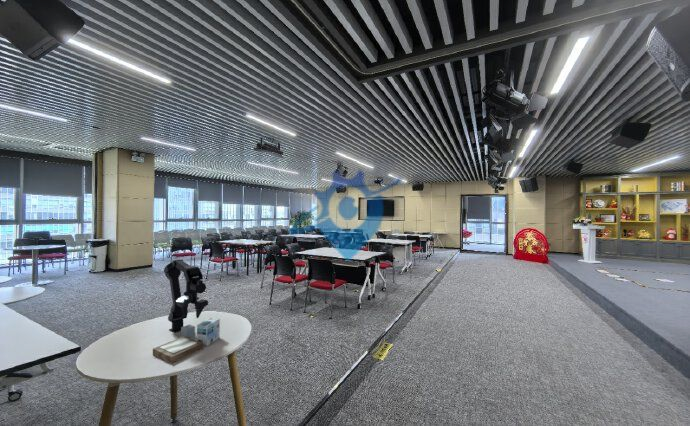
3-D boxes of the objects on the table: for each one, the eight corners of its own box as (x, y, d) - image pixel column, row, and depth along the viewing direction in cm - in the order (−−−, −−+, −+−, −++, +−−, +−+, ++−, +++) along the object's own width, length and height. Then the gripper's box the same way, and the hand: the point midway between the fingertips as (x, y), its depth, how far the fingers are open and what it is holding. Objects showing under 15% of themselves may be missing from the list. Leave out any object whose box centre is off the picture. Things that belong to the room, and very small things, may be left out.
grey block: (180, 338, 156) (181, 327, 156) (189, 334, 161) (189, 324, 161) (186, 340, 154) (186, 329, 154) (194, 336, 159) (194, 326, 158)
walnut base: (152, 354, 138) (152, 347, 138) (184, 341, 153) (184, 335, 153) (171, 363, 131) (171, 356, 131) (202, 348, 145) (202, 342, 145)
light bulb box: (207, 346, 148) (207, 326, 148) (196, 344, 149) (196, 324, 149) (220, 337, 158) (220, 318, 158) (209, 336, 160) (209, 317, 159)
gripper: (166, 291, 152) (165, 319, 152) (192, 296, 146) (192, 325, 146) (183, 285, 162) (183, 312, 163) (209, 290, 157) (208, 317, 157)
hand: (191, 316), depth 157 cm, fingers open, 9 cm apart
